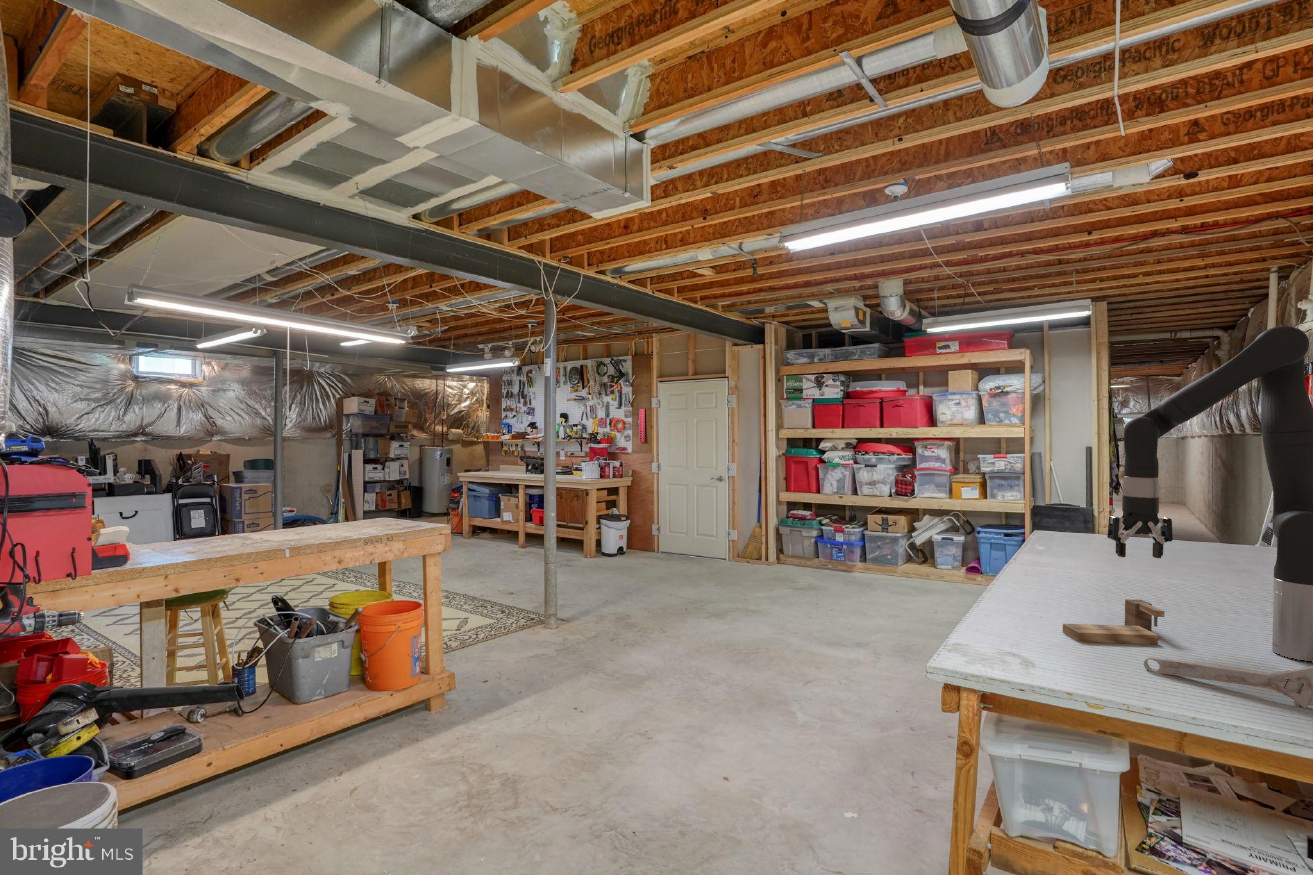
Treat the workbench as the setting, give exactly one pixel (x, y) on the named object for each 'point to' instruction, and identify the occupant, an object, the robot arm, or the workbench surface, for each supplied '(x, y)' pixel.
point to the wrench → (1244, 677)
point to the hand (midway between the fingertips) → (1139, 557)
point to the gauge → (1141, 614)
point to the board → (1110, 633)
